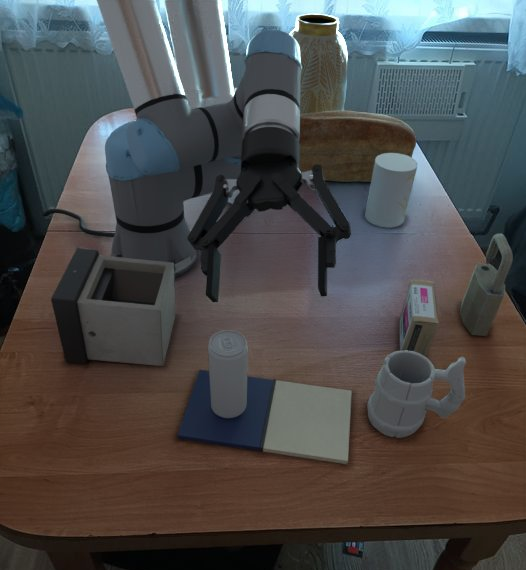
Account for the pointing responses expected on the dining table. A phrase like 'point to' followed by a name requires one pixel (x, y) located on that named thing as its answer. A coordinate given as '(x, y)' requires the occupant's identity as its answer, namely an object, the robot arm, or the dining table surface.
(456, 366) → the mug
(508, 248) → the padlock
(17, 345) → the dining table surface
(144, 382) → the dining table surface
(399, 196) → the white cylinder
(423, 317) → the ink box
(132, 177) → the robot arm
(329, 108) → the vase
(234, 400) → the beverage can
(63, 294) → the grey open box
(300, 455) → the board
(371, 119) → the bread
